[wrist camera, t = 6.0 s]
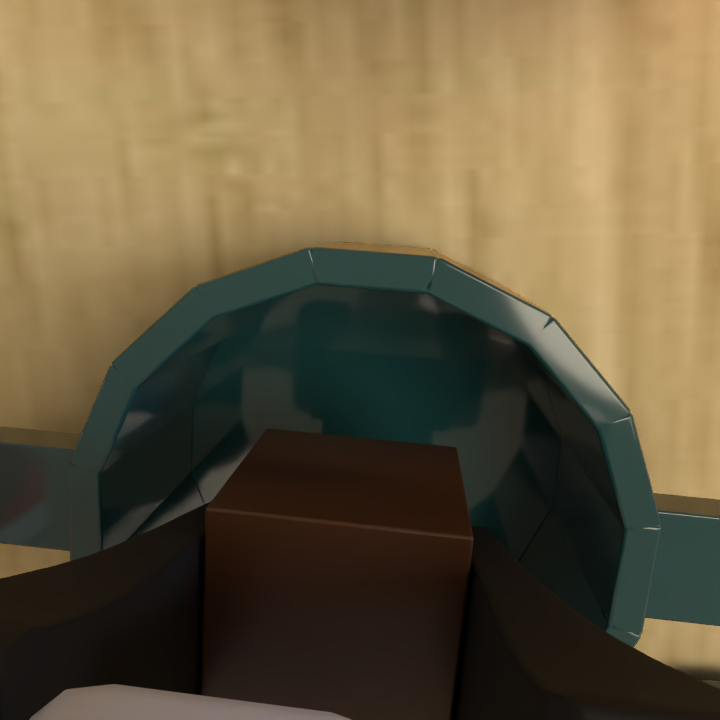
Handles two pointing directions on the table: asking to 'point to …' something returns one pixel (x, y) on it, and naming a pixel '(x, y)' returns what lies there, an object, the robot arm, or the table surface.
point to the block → (338, 577)
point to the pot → (378, 424)
